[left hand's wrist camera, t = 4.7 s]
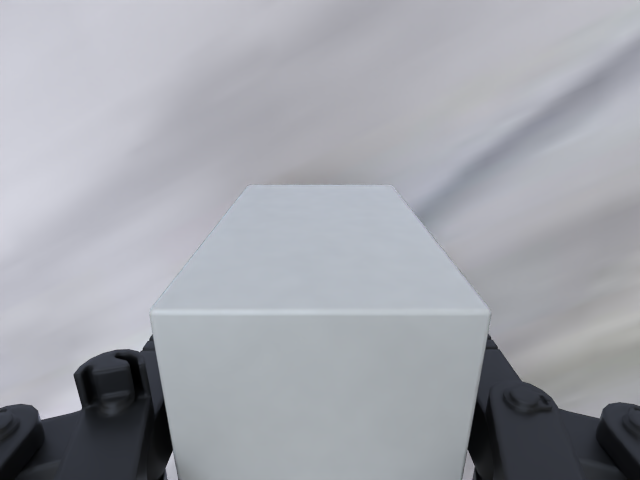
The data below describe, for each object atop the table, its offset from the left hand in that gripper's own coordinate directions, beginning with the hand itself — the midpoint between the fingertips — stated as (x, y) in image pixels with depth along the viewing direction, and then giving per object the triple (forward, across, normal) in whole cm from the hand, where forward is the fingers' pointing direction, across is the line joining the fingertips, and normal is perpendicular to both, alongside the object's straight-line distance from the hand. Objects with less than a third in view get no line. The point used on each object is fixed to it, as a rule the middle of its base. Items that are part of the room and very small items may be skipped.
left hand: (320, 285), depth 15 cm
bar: (+1, 0, -10) cm, 10 cm away
